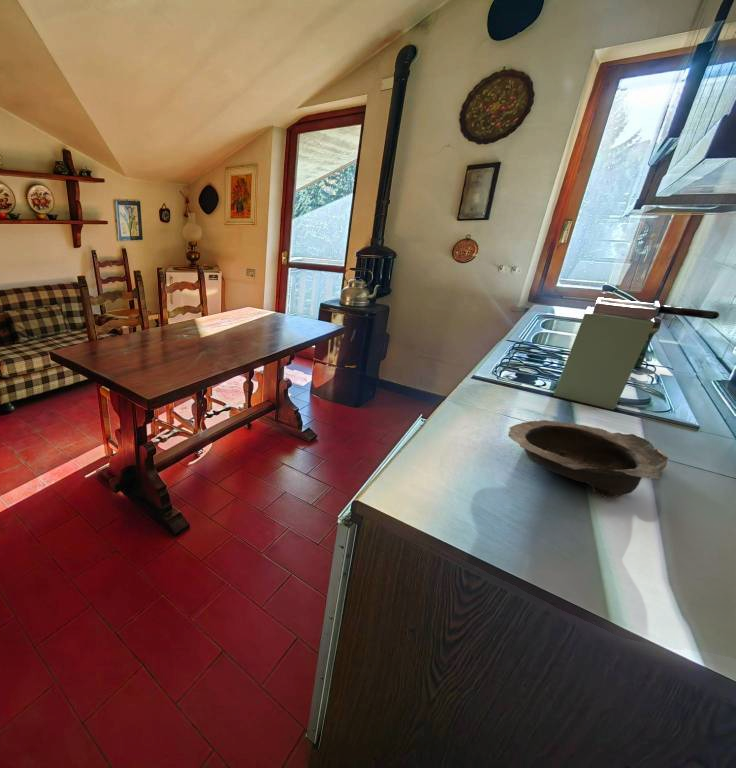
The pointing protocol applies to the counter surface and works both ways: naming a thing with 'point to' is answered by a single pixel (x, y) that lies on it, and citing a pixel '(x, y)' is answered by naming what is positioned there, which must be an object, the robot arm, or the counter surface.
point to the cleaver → (646, 309)
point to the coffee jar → (648, 341)
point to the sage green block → (602, 358)
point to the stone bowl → (590, 454)
